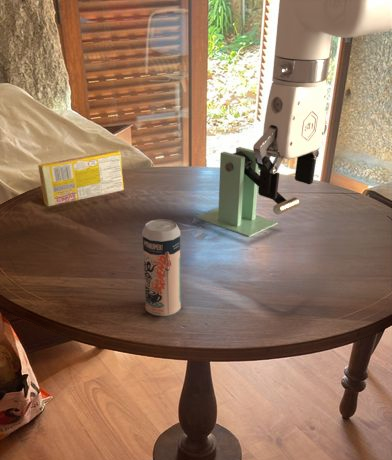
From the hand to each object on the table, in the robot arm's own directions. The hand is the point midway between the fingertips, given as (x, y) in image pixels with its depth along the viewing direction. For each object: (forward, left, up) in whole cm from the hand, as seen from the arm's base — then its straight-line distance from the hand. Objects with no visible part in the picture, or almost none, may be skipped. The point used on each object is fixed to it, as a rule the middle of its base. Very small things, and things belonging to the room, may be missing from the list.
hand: (285, 189), depth 90 cm
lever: (+3, -4, -1) cm, 6 cm away
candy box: (+33, -22, -9) cm, 41 cm away
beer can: (+21, +20, -9) cm, 31 cm away
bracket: (+6, -7, -9) cm, 13 cm away
